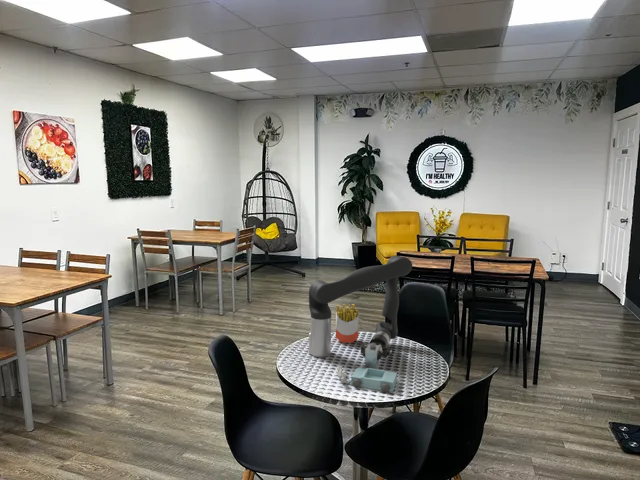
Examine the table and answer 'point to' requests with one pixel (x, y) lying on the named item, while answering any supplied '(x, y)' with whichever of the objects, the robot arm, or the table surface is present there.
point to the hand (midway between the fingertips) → (371, 356)
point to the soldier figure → (341, 376)
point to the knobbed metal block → (372, 356)
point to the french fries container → (347, 324)
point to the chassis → (374, 379)
